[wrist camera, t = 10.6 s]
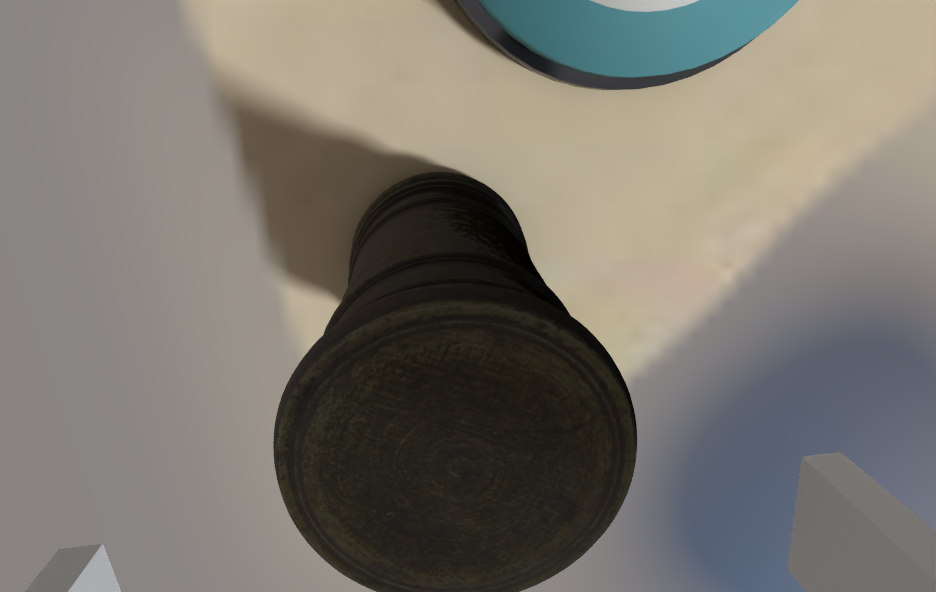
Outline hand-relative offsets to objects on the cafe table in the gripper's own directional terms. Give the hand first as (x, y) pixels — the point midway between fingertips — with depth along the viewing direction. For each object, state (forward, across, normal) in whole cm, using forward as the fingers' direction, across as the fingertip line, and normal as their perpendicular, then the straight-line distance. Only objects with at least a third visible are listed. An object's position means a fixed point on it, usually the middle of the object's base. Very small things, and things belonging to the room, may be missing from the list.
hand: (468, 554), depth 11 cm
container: (+20, 0, 0) cm, 20 cm away
